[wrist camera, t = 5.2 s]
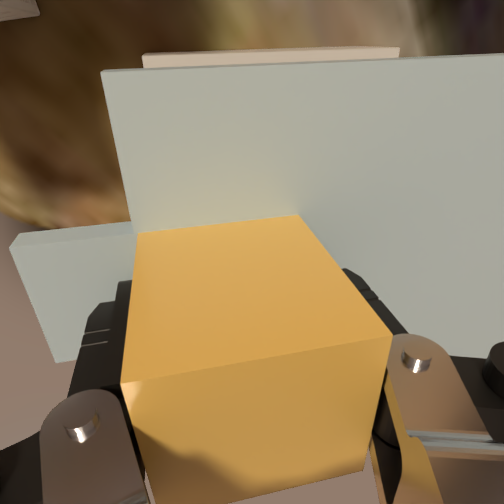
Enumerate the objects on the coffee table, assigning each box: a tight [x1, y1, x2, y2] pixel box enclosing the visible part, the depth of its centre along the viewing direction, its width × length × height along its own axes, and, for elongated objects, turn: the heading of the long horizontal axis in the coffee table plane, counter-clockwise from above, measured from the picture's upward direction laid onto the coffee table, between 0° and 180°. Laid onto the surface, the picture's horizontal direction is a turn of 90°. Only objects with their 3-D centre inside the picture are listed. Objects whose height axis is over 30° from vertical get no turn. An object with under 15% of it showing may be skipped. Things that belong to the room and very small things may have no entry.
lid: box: [9, 53, 504, 504], centre depth 11 cm, size 20×12×7 cm, turn 91°
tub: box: [142, 46, 400, 68], centre depth 27 cm, size 16×11×6 cm
